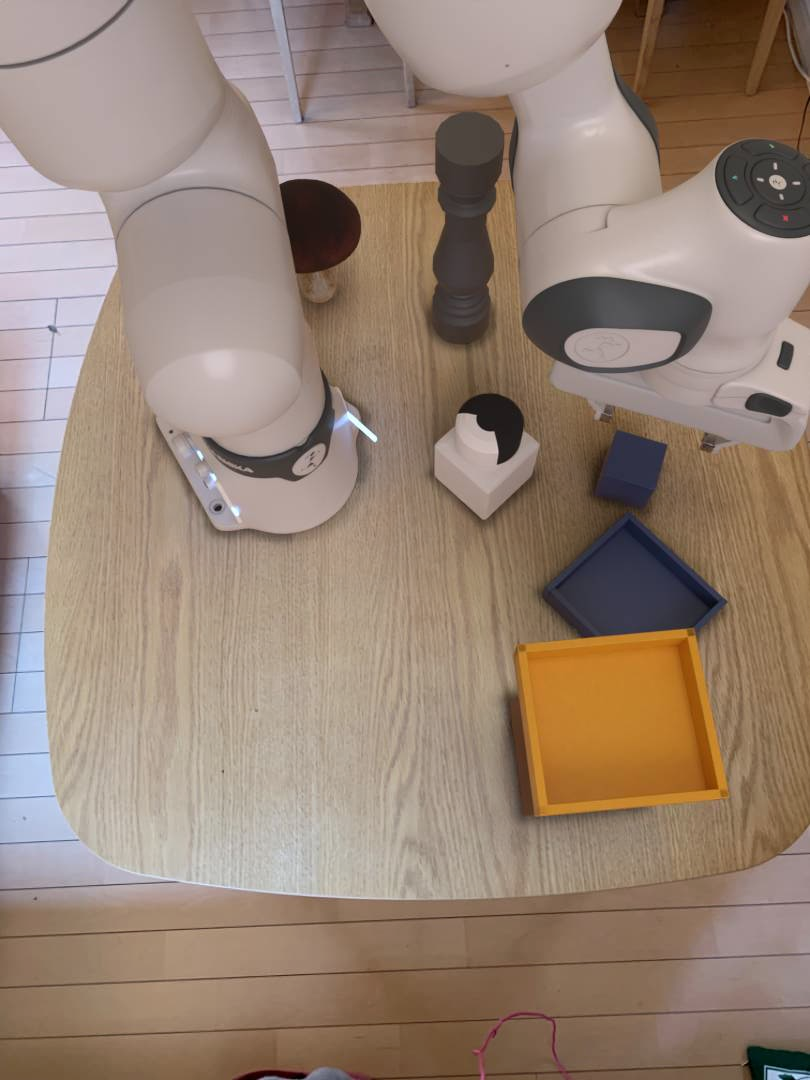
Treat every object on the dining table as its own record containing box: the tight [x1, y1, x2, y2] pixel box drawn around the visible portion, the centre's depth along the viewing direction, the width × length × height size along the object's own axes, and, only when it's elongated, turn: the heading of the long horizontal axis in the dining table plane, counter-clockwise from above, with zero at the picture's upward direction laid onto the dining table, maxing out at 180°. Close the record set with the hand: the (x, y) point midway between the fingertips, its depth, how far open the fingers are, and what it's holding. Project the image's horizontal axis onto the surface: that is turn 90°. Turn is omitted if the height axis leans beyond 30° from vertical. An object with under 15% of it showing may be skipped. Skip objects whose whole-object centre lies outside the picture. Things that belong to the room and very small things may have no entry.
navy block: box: [593, 429, 669, 511], centre depth 83 cm, size 5×5×5 cm
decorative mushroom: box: [279, 178, 362, 304], centre depth 87 cm, size 11×11×15 cm
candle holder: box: [431, 111, 505, 345], centre depth 80 cm, size 6×6×25 cm
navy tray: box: [541, 510, 729, 638], centre depth 79 cm, size 12×11×3 cm
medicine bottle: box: [434, 392, 540, 521], centre depth 80 cm, size 7×7×12 cm
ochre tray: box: [508, 628, 730, 818], centre depth 66 cm, size 12×11×21 cm
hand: (655, 430), depth 75 cm, fingers open, 8 cm apart
